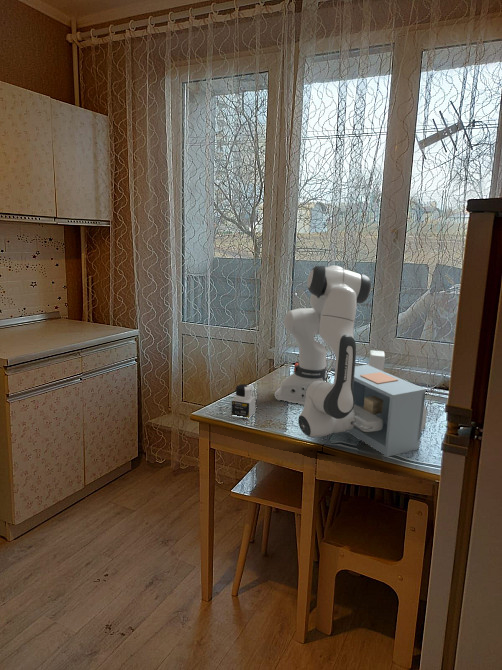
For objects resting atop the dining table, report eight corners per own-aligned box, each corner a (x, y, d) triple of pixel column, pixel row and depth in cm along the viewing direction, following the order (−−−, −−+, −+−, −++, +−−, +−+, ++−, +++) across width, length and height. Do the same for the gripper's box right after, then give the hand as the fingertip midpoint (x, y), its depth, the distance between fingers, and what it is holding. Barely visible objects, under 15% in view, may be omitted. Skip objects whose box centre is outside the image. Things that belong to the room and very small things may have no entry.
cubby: (387, 456, 154) (393, 394, 149) (333, 422, 179) (337, 368, 174) (419, 448, 160) (426, 388, 155) (362, 416, 185) (367, 363, 180)
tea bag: (425, 426, 178) (428, 401, 176) (420, 432, 173) (423, 406, 170) (415, 423, 180) (417, 398, 178) (410, 429, 175) (413, 404, 172)
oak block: (370, 431, 165) (373, 401, 163) (362, 426, 169) (364, 397, 167) (380, 429, 167) (383, 400, 165) (372, 424, 171) (374, 395, 169)
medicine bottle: (231, 417, 182) (231, 387, 179) (238, 410, 189) (238, 381, 186) (248, 420, 180) (249, 390, 177) (255, 413, 186) (255, 384, 183)
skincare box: (367, 381, 227) (369, 349, 223) (381, 382, 226) (384, 350, 222) (367, 387, 219) (370, 354, 215) (382, 388, 218) (385, 355, 214)
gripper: (363, 421, 151) (396, 414, 157) (326, 399, 169) (357, 393, 175) (362, 439, 153) (394, 431, 159) (325, 415, 171) (355, 409, 177)
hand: (374, 411), depth 167 cm, fingers closed on oak block, 4 cm apart
